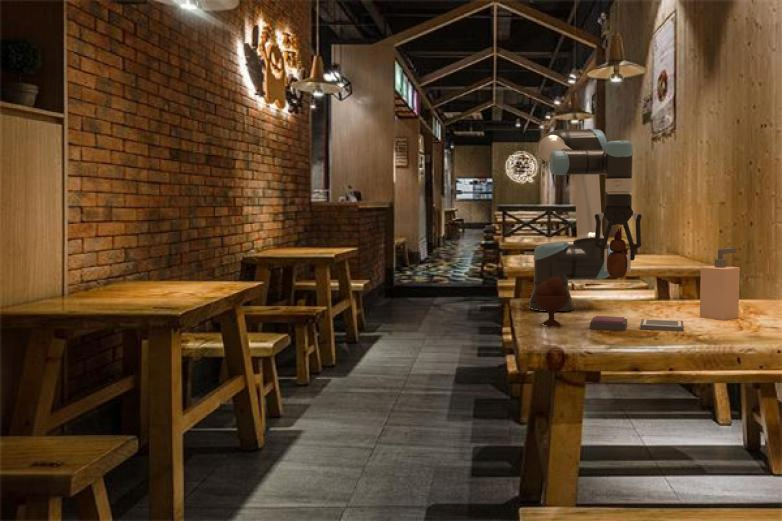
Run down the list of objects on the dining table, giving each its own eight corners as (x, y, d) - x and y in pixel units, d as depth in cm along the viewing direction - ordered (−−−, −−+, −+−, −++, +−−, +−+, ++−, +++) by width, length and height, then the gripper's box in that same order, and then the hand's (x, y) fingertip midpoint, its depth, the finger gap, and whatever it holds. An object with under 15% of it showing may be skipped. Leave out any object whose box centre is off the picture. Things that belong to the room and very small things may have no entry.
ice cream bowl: (570, 322, 238) (571, 274, 237) (566, 328, 228) (567, 278, 227) (536, 321, 242) (536, 274, 241) (531, 327, 231) (531, 277, 230)
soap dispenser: (724, 320, 240) (726, 250, 238) (699, 317, 247) (700, 249, 245) (745, 316, 248) (747, 248, 246) (720, 313, 255) (721, 247, 253)
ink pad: (590, 329, 227) (590, 320, 227) (593, 323, 236) (593, 315, 236) (625, 330, 224) (625, 322, 223) (627, 325, 233) (627, 316, 233)
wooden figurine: (628, 278, 224) (629, 227, 223) (607, 278, 226) (608, 227, 225) (626, 275, 231) (627, 226, 230) (606, 275, 232) (607, 226, 231)
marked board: (640, 329, 226) (640, 324, 226) (641, 322, 237) (641, 318, 237) (683, 331, 222) (683, 326, 222) (683, 324, 233) (683, 320, 233)
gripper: (584, 193, 226) (583, 271, 228) (651, 193, 219) (650, 273, 221) (587, 193, 233) (586, 269, 235) (652, 193, 226) (651, 270, 228)
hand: (617, 271), depth 228 cm, fingers closed on wooden figurine, 6 cm apart
